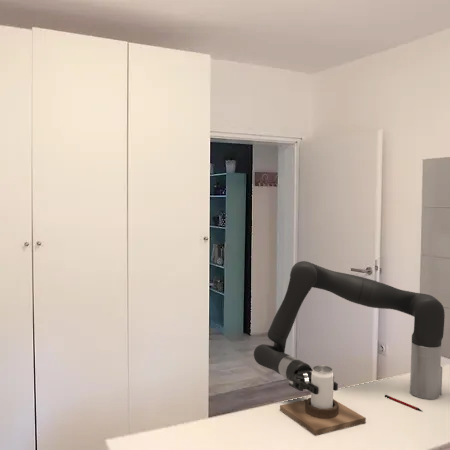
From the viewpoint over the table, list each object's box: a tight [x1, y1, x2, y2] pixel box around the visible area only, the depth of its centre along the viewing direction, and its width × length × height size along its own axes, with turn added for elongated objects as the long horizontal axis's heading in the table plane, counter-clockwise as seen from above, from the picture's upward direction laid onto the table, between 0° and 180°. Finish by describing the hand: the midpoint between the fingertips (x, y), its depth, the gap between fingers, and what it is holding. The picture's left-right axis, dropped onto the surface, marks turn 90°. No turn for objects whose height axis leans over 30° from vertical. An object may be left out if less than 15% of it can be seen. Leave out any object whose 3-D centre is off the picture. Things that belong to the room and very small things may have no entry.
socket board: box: [279, 397, 367, 436], centre depth 148 cm, size 18×18×4 cm
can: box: [310, 364, 334, 409], centre depth 148 cm, size 6×6×12 cm
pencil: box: [384, 394, 423, 412], centre depth 158 cm, size 1×14×1 cm, turn 34°
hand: (327, 389), depth 146 cm, fingers closed on can, 6 cm apart
